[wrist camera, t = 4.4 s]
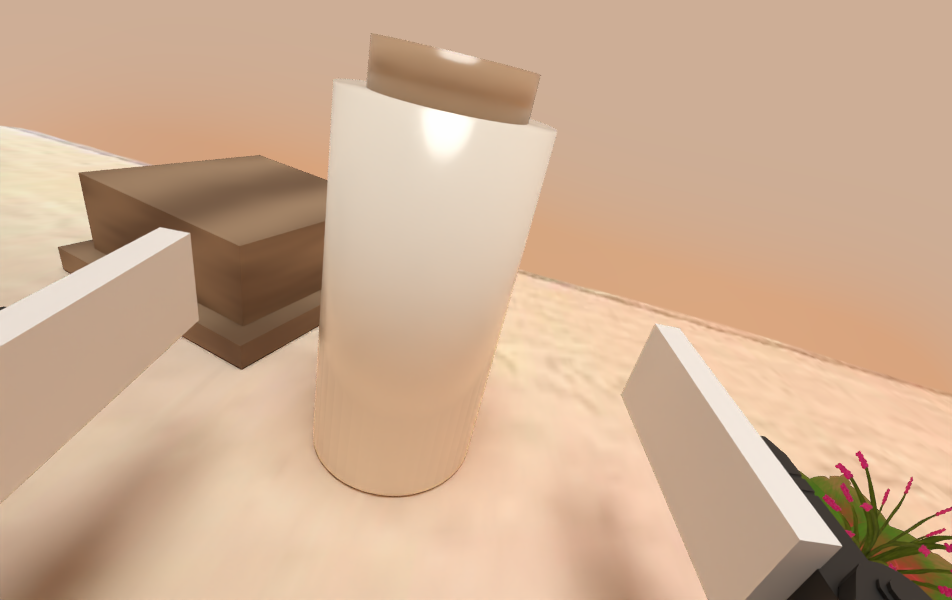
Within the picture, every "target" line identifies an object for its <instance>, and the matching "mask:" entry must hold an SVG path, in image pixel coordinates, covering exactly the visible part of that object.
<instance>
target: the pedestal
mask: <svg viewBox="0 0 952 600" xmlns="http://www.w3.org/2000/svg"><path fill="white" fill-rule="evenodd" d="M79 177H80V182H81V187H82V191H83V196H84V201H85V205H86V210H87V215H88V219H89V224H90V229H91V233H92V238H93V240H90V241H85V242H80V243H75V244H71V245H66V246H61V247H58V249H59V253H60V257H61V261H62V265H63V269H64V270H66V271H68V272H69V273H73V272H75V271H77V270H79V269H81V268H83V267H85V266H87V265H89V264H90V263H92V262H94V261H96V260H98V259H100V258H102V257H104V256H106V255H108V254H110V253H112V252H114V251H115V250H117V249H119V248H121V247H123V246H125V245H127V244H129V243H131V242H133V241H135V240H137V239H138V238H140V237H142V236H144V235H146V234H148V233H150V232H152V231H154V230H156V229H158V228H160V227H161V228H167V229H172V230H177V231H182V232H187V233H190V236H191V246H192V256H193V266H194V276H195V286H196V296H197V305H198V315H199V321H198V322H196V323H195V324H194V325H193V326H192V327H191V328H190V329H189V330H188V331H187V332H186V333H185V334H183V335H182V336H183V337H185V338H187V339H189V340H190V341H192V342H194V343H196V344H198V345H199V346H201V347H203V348H205V349H206V350H208V351H210V352H212V353H214V354H215V355H217V356H219V357H221V358H222V359H224V360H226V361H228V362H230V363H231V364H233V365H235V366H237V367H239V368H240V369H243V368H245V367H246V366H248V365H250V364H252V363H253V362H255V361H257V360H259V359H260V358H262V357H264V356H266V355H267V354H269V353H271V352H273V351H275V350H276V349H278V348H280V347H282V346H283V345H285V344H287V343H289V342H290V341H292V340H294V339H296V338H298V337H299V336H301V335H303V334H305V333H306V332H308V331H310V330H312V329H313V328H315V327H317V326H319V323H320V305H321V288H322V270H323V253H324V235H325V218H326V201H327V183H328V180H325V179H322V178H320V177H317V176H314V175H311V174H309V173H306V172H303V171H301V170H298V169H295V168H293V167H290V166H287V165H285V164H282V163H279V162H277V161H274V160H271V159H268V158H266V157H263V156H260V155H257V156H246V157H236V158H226V159H215V160H205V161H195V162H184V163H174V164H165V165H153V166H143V167H132V168H122V169H112V170H101V171H91V172H81V173H79Z"/></svg>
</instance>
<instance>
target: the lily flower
mask: <svg viewBox="0 0 952 600" xmlns="http://www.w3.org/2000/svg"><path fill="white" fill-rule="evenodd" d="M856 456H858V458H859V461H860V462H861V466H862V468H863V469H865V470H866V474H867V479H868V485H869V493H870V500H871V502H870V501H869V500H868V499H867V498H866V497H865V496H864V495H863V494H862V493H861V491H860V489H859V488H858V486H857V484H856V482H855V481H854V479H853V478H852V477H853V474H850V473H851V472H850V471H849V470H847V469H846V468H845V466H842V464H841V463H839V464H838V465H836V466H835V467H836V468H839V469H840V470H841V472H842V473H844V474H843V475H841V476H840V477H839V476H830V479H828V478H827V477H825V476H818V477H813V478H811V479H809V478H808V477H807V476H805V475H804V474H803V473H801V472H800V471H799V472H800V473H801V475H802V476H801V477H802V479H805V480H806V481H807V482H808V484H809V485H810V486H811V487H812V489H813V490H814V491H815V493H814V494H815V496H819V498H820V499H821V500H822V502H823V503H824V504H825V505H826V507H827V508H828V509H829V511H830V512H831V513H832V514H833V516H834V517H835V518H836V519H837V521H838V522H839V523H840V525H841V526H842V527H843V528H844V530H845V531H846V532H847V534H848V535H849V536H850V537H851V539H852V540H853V541H854V543H855V544H856V545H857V546H858V548H859V549H860V550H861V552H862V553H863V554H864V555H865V557H866V558H867V559H868V561H873V562H877V563H881V564H884V565H886V566H888V567H890V568H892V569H894V570H896V571H898V572H900V573H901V574H903V575H904V576H905V577H907V578H908V579H910V580H911V581H912V582H914V583H915V584H916V585H918V586H919V587H920V588H921V589H922V590H923V591H924V592H925V593H926V594H927V595H928V596H930V597H931V598H932V599H933V600H952V564H950V563H949V562H948V561H946V560H945V559H943V558H942V557H941V556H939V555H938V554H934V553H932V552H931V551H930V550H933V549H944V550H946V551H947V552H949V553H950V552H952V544H950V546H949V545H948V544H947V543H944V545H940V544H935V543H936V542H939V541H942V540H950V539H952V536H933V535H937V534H938V533H939V534H940V533H942V532H943V531H945V530H946V529H945V528H943V529H942V530H941V529H940V530H937V531H934V532H931V533H930V534H927V535H926V536H923V537H920V538H918V539H916V538H914V537H913V536H911V535H910V534H908V533H909V532H910V531H912V530H913V529H915V528H916V527H918V526H919V525H921V524H922V523H924V522H925V521H927V520H928V519H930V518H932V517H934V516H939V515H940V514H945V513H946V512H949V511H951V510H952V507H951V508H947V509H945V510H941V511H940V512H937V513H936V514H935V515H933V516H930V517H928V518H926V519H923V520H922V521H920V522H918V523H917V524H915V525H914V526H912V527H911V528H909V529H908V530H906V531H902V530H899V529H896V528H894V527H891V526H889V524H888V523H889V521H890V520H891V518H892V517H893V515H894V514H895V513H896V511H897V510H898V509H899V507H900V506H901V504H902V502H903V500H904V498H905V495H906V494H907V493H908V490H909V489H910V486H911V484H912V483H911V482H912V481H913V477H911V479H910V480H911V481H909V482H908V485H907V486H906V490H905V492H904V496H903V498H902V499H901V501H900V502H899V504H898V505H897V506H896V508H895V509H894V510H893V512H892V513H891V514H890V516H889V517H888V519H887V520H886V519H885V518H884V516H883V515H882V513H881V510H882V507H883V505H884V504H885V501H886V500H887V497H888V494H889V491H890V489H887V492H885V496H884V499H883V500H882V501H883V502H882V505H881V508H880V510H878V509H877V506H876V500H875V495H874V490H873V486H872V482H871V478H870V474H869V471H868V468H867V467H868V464H867V461H866V460H865V459H864V457H863V454H861V452H860V451H859V452H858V453H856ZM848 479H850V480H851V482H852V484H853V486H854V488H853V487H852V486H850V484H851V482H850V481H849V480H848ZM842 514H843V515H842ZM929 536H930V537H929ZM925 537H927V538H925ZM923 538H925V539H923ZM920 539H922V540H920Z"/></svg>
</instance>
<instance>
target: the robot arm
mask: <svg viewBox="0 0 952 600" xmlns="http://www.w3.org/2000/svg"><path fill="white" fill-rule="evenodd" d="M198 321H199V315H198V305H197V296H196V286H195V276H194V266H193V256H192V246H191V236H190V233H187V232H182V231H177V230H172V229H167V228H161V227H160V228H158V229H156V230H154V231H152V232H150V233H148V234H146V235H144V236H142V237H140V238H138V239H137V240H135V241H133V242H131V243H129V244H127V245H125V246H123V247H121V248H119V249H117V250H115V251H114V252H112V253H110V254H108V255H106V256H104V257H102V258H100V259H98V260H96V261H94V262H92V263H90V264H89V265H87V266H85V267H83V268H81V269H79V270H77V271H75V272H73V273H71V274H69V275H67V276H66V277H64V278H62V279H60V280H58V281H56V282H54V283H52V284H50V285H48V286H46V287H44V288H43V289H41V290H39V291H37V292H35V293H33V294H31V295H29V296H27V297H25V298H23V299H21V300H20V301H18V302H16V303H14V304H12V305H10V306H8V307H0V504H1V503H2V502H3V501H4V500H5V499H6V498H7V497H8V496H10V495H11V494H12V493H13V492H14V491H15V490H16V489H17V488H18V487H19V486H20V485H21V484H22V483H24V482H25V481H26V480H27V479H28V478H29V477H30V476H31V475H32V474H33V473H34V472H35V471H37V470H38V469H39V468H40V467H41V466H42V465H43V464H44V463H45V462H46V461H47V460H48V459H50V458H51V457H52V456H53V455H54V454H55V453H56V452H57V451H58V450H59V449H60V448H61V447H62V446H64V445H65V444H66V443H67V442H68V441H69V440H70V439H71V438H72V437H73V436H74V435H75V434H77V433H78V432H79V431H80V430H81V429H82V428H83V427H84V426H85V425H86V424H87V423H88V422H89V421H91V420H92V419H93V418H94V417H95V416H96V415H97V414H98V413H99V412H100V411H101V410H102V409H104V408H105V407H106V406H107V405H108V404H109V403H110V402H111V401H112V400H113V399H114V398H115V397H116V396H118V395H119V394H120V393H121V392H122V391H123V390H124V389H125V388H126V387H127V386H128V385H129V384H131V383H132V382H133V381H134V380H135V379H136V378H137V377H138V376H139V375H140V374H141V373H142V372H144V371H145V370H146V369H147V368H148V367H149V366H150V365H151V364H152V363H153V362H154V361H155V360H156V359H158V358H159V357H160V356H161V355H162V354H163V353H164V352H165V351H166V350H167V349H168V348H169V347H171V346H172V345H173V344H174V343H175V342H176V341H177V340H178V339H179V338H180V337H181V336H182V335H183V334H185V333H186V332H187V331H188V330H189V329H190V328H191V327H192V326H193V325H194V324H195V323H196V322H198ZM621 396H622V398H623V401H624V403H625V406H626V408H627V410H628V413H629V415H630V417H631V420H632V422H633V424H634V427H635V429H636V432H637V434H638V436H639V439H640V441H641V443H642V446H643V448H644V450H645V453H646V455H647V457H648V460H649V462H650V465H651V467H652V469H653V472H654V474H655V476H656V479H657V481H658V483H659V486H660V488H661V490H662V493H663V495H664V498H665V500H666V502H667V505H668V507H669V509H670V512H671V514H672V516H673V519H674V521H675V524H676V526H677V528H678V531H679V533H680V535H681V538H682V540H683V542H684V545H685V547H686V549H687V552H688V554H689V557H690V559H691V561H692V564H693V566H694V568H695V571H696V573H697V575H698V578H699V580H700V582H701V585H702V587H703V590H704V592H705V594H706V597H707V599H708V600H933V599H932V598H931V597H930V596H928V595H927V594H926V593H925V592H924V591H923V590H922V589H921V588H920V587H919V586H918V585H916V584H915V583H914V582H912V581H911V580H910V579H908V578H907V577H905V576H904V575H903V574H901V573H900V572H898V571H896V570H894V569H892V568H890V567H888V566H886V565H884V564H881V563H877V562H873V561H868V559H867V558H866V557H865V555H864V554H863V553H862V552H861V550H860V549H859V548H858V546H857V545H856V544H855V543H854V541H853V540H852V539H851V537H850V536H849V535H848V534H847V532H846V531H845V530H844V528H843V527H842V526H841V525H840V523H839V522H838V521H837V519H836V518H835V517H834V516H833V514H832V513H831V512H830V511H829V509H828V508H827V507H826V505H825V504H824V503H823V502H822V500H821V499H820V498H819V496H815V494H814V493H815V491H814V490H813V489H812V487H811V486H810V485H809V484H808V482H807V481H806V480H805V479H802V477H801V476H802V475H801V473H800V472H799V471H798V469H797V468H796V467H795V466H794V464H793V463H792V462H791V460H790V459H789V458H788V457H787V455H786V454H785V453H783V452H782V451H781V450H780V449H779V448H778V447H776V446H775V445H774V444H773V443H772V442H771V441H770V440H768V439H767V438H766V437H764V436H760V435H759V434H758V433H757V431H756V430H755V428H754V427H753V426H752V424H751V423H750V422H749V420H748V419H747V418H746V416H745V415H744V414H743V412H742V411H741V410H740V408H739V407H738V406H737V404H736V403H735V402H734V400H733V399H732V398H731V396H730V395H729V394H728V392H727V391H726V390H725V388H724V387H723V386H722V384H721V383H720V382H719V380H718V379H717V378H716V376H715V375H714V374H713V372H712V371H711V370H710V368H709V367H708V366H707V364H706V363H705V362H704V360H703V359H702V358H701V356H700V355H699V354H698V352H697V351H696V350H695V348H694V347H693V346H692V344H691V343H690V342H689V340H688V339H687V338H686V336H685V335H684V334H683V332H682V331H681V330H680V328H675V327H670V326H665V325H660V324H655V325H654V327H653V329H652V331H651V333H650V335H649V337H648V339H647V342H646V344H645V346H644V348H643V350H642V352H641V354H640V356H639V358H638V360H637V362H636V364H635V367H634V369H633V371H632V373H631V375H630V377H629V379H628V381H627V383H626V385H625V387H624V389H623V391H622V394H621Z"/></svg>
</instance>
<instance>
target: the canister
mask: <svg viewBox="0 0 952 600" xmlns="http://www.w3.org/2000/svg"><path fill="white" fill-rule="evenodd" d="M540 76H541V75H540V74H537V73H533V72H530V71H527V70H523V69H519V68H515V67H512V66H508V65H504V64H501V63H497V62H493V61H489V60H485V59H481V58H476V57H473V56H469V55H465V54H460V53H457V52H453V51H448V50H444V49H440V48H436V47H432V46H427V45H423V44H419V43H415V42H410V41H406V40H402V39H397V38H393V37H388V36H383V35H378V34H372V33H371V38H370V50H369V61H368V72H367V81H361V80H353V79H334V80H333V96H332V113H331V131H330V149H329V166H328V183H327V201H326V218H325V235H324V253H323V270H322V288H321V305H320V323H319V340H318V358H317V375H316V392H315V410H314V427H313V441H314V447H315V450H316V453H317V455H318V457H319V459H320V460H321V462H322V464H323V465H324V466H325V467H326V468H327V470H328V471H329V472H331V473H332V474H333V475H334V476H335V477H336V478H338V479H339V480H341V481H342V482H344V483H345V484H347V485H349V486H351V487H353V488H356V489H359V490H361V491H364V492H368V493H373V494H377V495H386V496H402V495H411V494H416V493H420V492H424V491H426V490H429V489H432V488H434V487H436V486H438V485H440V484H442V483H443V482H445V481H446V480H447V479H449V478H450V477H451V476H452V475H453V474H454V473H455V472H456V471H457V470H458V469H459V467H460V466H461V465H462V463H463V461H464V459H465V457H466V454H467V451H468V447H469V444H470V440H471V437H472V433H473V429H474V426H475V422H476V419H477V415H478V412H479V408H480V405H481V401H482V397H483V394H484V390H485V387H486V383H487V380H488V376H489V373H490V369H491V365H492V362H493V358H494V355H495V351H496V348H497V344H498V341H499V337H500V333H501V330H502V326H503V323H504V319H505V316H506V312H507V309H508V305H509V301H510V298H511V294H512V291H513V287H514V284H515V280H516V277H517V273H518V269H519V266H520V262H521V259H522V255H523V252H524V248H525V244H526V241H527V237H528V234H529V230H530V227H531V223H532V220H533V216H534V212H535V209H536V205H537V202H538V198H539V194H540V191H541V187H542V184H543V180H544V177H545V173H546V170H547V166H548V163H549V159H550V155H551V152H552V148H553V145H554V141H555V138H556V134H557V130H556V129H554V128H553V127H551V126H548V125H546V124H543V123H541V122H538V121H535V120H532V119H530V116H531V111H532V108H533V104H534V100H535V96H536V92H537V88H538V84H539V80H540Z"/></svg>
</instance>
